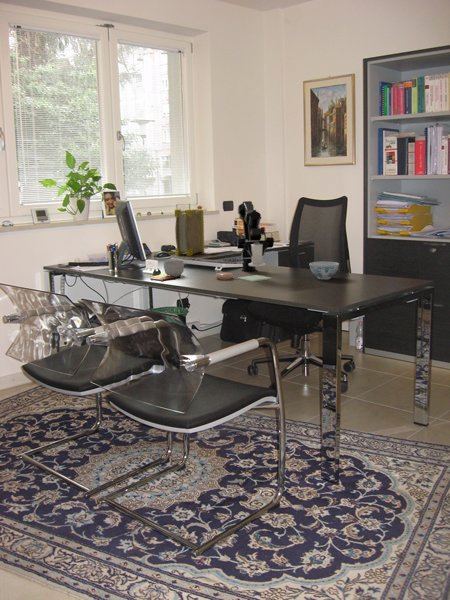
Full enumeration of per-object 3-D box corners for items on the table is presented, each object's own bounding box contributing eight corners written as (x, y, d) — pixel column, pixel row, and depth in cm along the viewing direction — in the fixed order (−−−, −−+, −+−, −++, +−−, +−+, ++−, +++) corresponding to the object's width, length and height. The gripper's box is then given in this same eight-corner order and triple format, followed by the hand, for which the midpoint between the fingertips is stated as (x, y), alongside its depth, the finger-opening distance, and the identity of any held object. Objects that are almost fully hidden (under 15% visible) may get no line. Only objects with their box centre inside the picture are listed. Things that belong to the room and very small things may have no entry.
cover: (251, 263, 361) (251, 241, 358) (267, 264, 358) (267, 241, 355) (246, 266, 353) (246, 243, 351) (262, 266, 350) (262, 243, 348)
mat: (257, 276, 366) (257, 274, 366) (272, 279, 356) (272, 277, 356) (237, 278, 359) (237, 277, 359) (252, 281, 349) (252, 280, 349)
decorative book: (192, 251, 474) (191, 207, 468) (205, 252, 467) (204, 208, 461) (174, 255, 457) (173, 209, 451) (187, 256, 451) (186, 210, 445)
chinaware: (304, 277, 359) (304, 262, 358) (329, 275, 364) (329, 260, 363) (318, 281, 346) (318, 266, 344) (344, 279, 351) (344, 264, 349)
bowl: (226, 276, 366) (226, 271, 366) (236, 278, 359) (236, 274, 359) (212, 278, 362) (212, 273, 361) (222, 280, 354) (222, 275, 354)
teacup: (181, 277, 367) (180, 262, 365) (161, 277, 369) (160, 262, 367) (187, 273, 380) (187, 259, 379) (168, 273, 382) (168, 258, 381)
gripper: (237, 222, 354) (240, 246, 345) (273, 221, 356) (277, 245, 347) (235, 236, 363) (238, 260, 355) (270, 235, 365) (274, 258, 356)
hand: (257, 255), depth 353 cm, fingers closed on cover, 6 cm apart
